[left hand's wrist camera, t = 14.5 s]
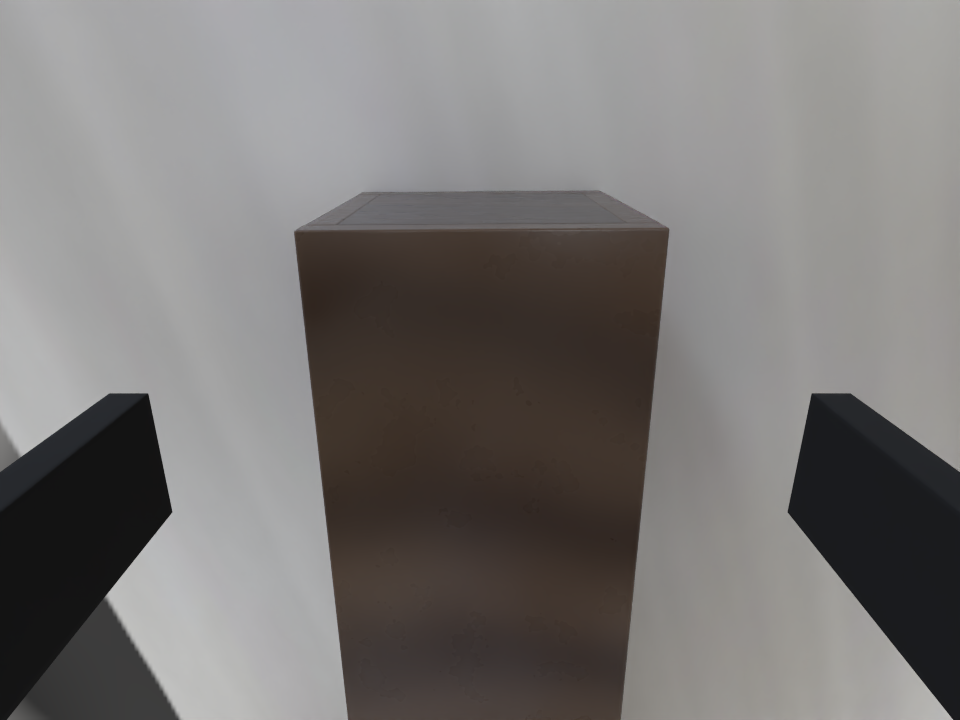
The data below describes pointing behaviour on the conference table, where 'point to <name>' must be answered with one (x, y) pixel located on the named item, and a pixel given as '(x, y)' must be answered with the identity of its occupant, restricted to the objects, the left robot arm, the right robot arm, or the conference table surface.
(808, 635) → the conference table surface
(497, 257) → the cabinet
